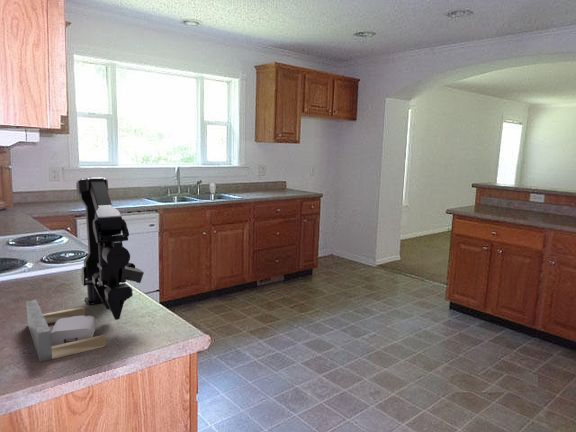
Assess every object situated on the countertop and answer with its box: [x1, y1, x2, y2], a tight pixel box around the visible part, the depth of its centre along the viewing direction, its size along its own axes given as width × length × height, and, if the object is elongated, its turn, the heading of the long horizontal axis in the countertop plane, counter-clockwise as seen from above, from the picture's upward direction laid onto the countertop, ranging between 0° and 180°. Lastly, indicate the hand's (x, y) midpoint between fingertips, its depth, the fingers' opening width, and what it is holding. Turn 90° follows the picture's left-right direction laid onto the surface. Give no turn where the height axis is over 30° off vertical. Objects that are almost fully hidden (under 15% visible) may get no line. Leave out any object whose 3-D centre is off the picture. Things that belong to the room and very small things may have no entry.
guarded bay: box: [25, 299, 107, 363], centre depth 112 cm, size 25×14×7 cm, turn 37°
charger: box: [50, 315, 96, 346], centre depth 113 cm, size 5×9×15 cm
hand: (112, 314), depth 119 cm, fingers open, 9 cm apart
